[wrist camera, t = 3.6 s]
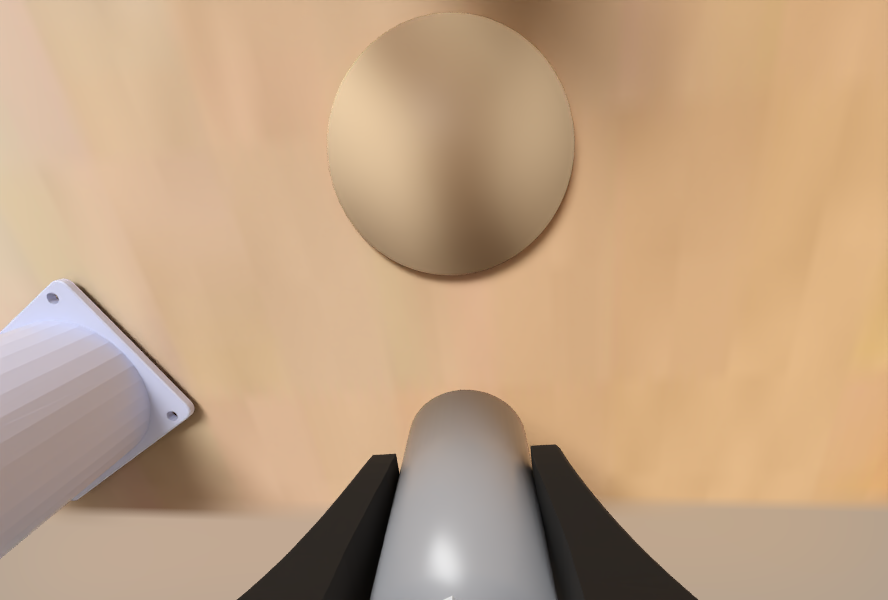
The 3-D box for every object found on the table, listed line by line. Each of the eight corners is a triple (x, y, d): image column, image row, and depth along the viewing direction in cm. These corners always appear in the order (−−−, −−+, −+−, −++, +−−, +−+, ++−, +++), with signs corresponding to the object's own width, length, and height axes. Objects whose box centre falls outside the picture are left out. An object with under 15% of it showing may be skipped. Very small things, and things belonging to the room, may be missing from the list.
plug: (454, 506, 13) (436, 839, 7) (385, 428, 12) (290, 716, 6) (548, 455, 12) (633, 777, 6) (481, 368, 12) (491, 624, 5)
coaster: (426, 314, 18) (425, 317, 17) (282, 130, 16) (277, 129, 16) (618, 181, 16) (622, 182, 15) (477, -49, 14) (477, -55, 13)
